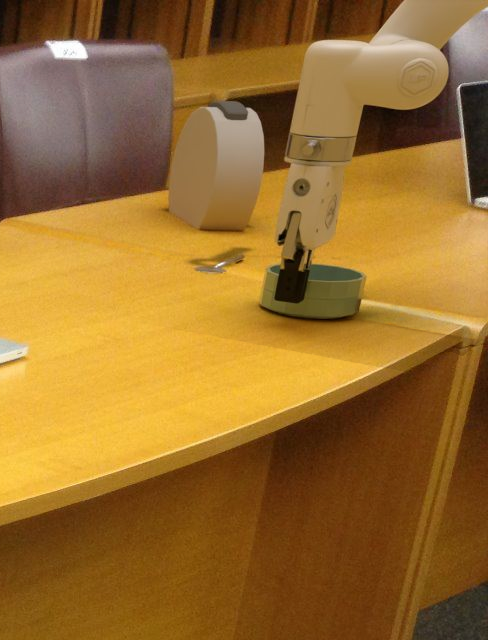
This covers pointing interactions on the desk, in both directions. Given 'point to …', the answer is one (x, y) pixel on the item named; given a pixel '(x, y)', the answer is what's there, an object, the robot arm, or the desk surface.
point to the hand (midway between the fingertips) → (288, 300)
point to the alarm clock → (217, 167)
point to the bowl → (318, 292)
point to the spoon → (219, 265)
